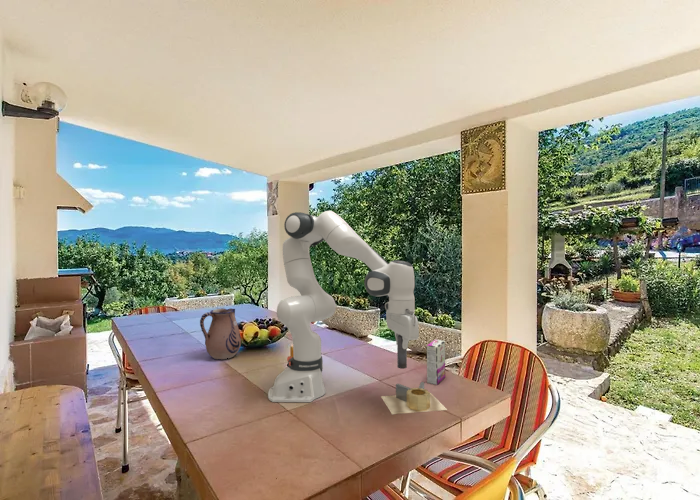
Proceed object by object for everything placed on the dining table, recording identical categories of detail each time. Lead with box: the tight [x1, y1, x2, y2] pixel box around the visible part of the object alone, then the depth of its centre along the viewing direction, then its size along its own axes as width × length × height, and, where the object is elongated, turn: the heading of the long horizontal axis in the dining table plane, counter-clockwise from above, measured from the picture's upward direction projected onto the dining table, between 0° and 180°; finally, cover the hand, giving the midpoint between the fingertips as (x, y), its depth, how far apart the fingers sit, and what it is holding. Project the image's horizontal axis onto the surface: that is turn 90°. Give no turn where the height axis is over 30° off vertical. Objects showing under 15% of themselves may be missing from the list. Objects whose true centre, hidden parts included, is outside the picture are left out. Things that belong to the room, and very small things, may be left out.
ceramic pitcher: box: [199, 307, 242, 360], centre depth 191 cm, size 18×21×25 cm
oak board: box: [380, 392, 448, 415], centre depth 133 cm, size 20×15×2 cm
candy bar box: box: [426, 339, 446, 386], centre depth 160 cm, size 11×5×16 cm, turn 148°
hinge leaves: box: [395, 381, 431, 411], centre depth 133 cm, size 11×13×5 cm
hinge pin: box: [396, 335, 408, 370], centre depth 128 cm, size 3×3×11 cm
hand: (402, 346), depth 128 cm, fingers closed on hinge pin, 3 cm apart
